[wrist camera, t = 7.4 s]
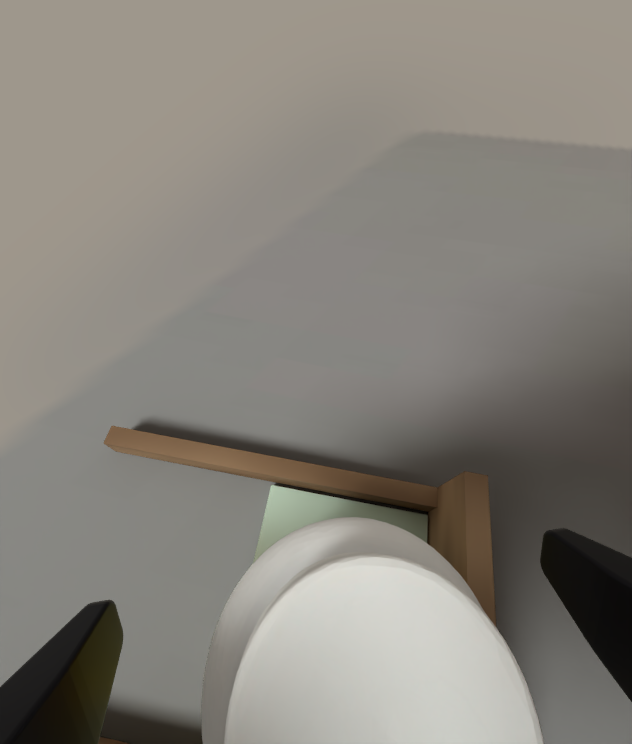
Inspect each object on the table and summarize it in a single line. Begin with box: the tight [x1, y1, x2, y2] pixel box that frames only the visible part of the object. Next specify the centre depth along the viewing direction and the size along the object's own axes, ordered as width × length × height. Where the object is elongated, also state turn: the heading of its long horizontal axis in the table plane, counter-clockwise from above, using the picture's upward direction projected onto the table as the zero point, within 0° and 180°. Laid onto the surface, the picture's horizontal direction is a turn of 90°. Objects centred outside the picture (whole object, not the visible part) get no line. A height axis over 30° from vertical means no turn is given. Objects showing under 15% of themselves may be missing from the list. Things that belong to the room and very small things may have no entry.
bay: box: [98, 426, 496, 744], centre depth 12 cm, size 11×15×4 cm
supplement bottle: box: [201, 517, 544, 744], centre depth 9 cm, size 6×6×10 cm
